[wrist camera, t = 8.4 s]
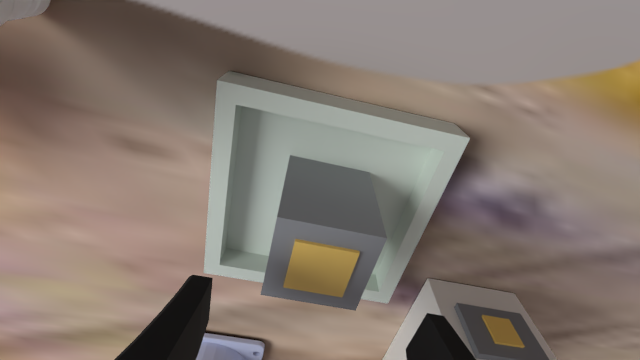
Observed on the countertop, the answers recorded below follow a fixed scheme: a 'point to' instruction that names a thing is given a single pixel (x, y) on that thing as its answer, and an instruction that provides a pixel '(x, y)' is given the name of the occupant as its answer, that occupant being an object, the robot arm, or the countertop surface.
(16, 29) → the countertop surface
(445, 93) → the countertop surface
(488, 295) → the control box
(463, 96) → the countertop surface
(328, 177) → the block
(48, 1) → the lightbulb
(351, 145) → the parts tray
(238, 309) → the countertop surface
